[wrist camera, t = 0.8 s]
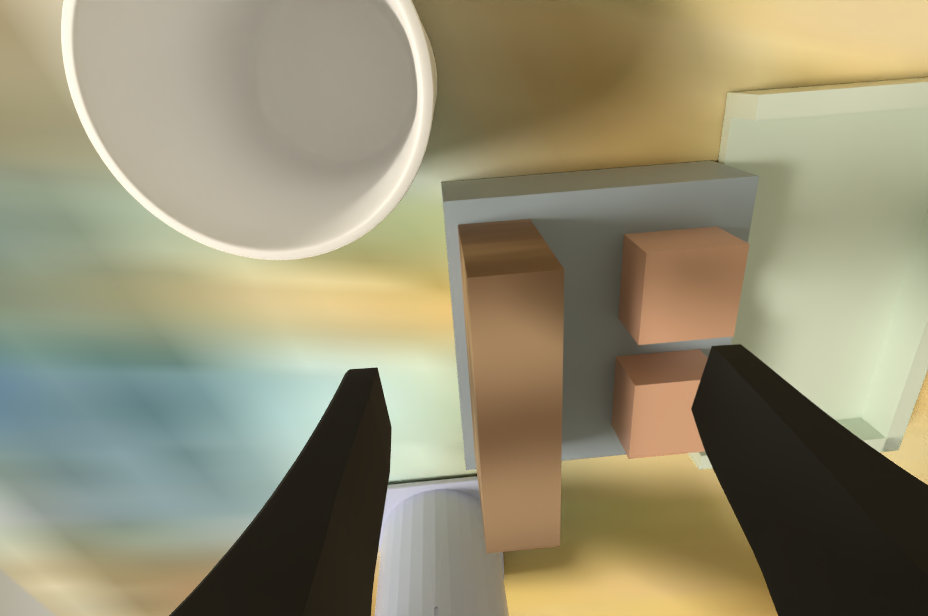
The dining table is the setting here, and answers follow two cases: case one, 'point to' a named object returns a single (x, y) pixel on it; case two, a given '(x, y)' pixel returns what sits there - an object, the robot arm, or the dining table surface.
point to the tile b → (681, 284)
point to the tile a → (657, 402)
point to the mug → (256, 113)
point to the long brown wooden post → (515, 379)
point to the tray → (837, 246)
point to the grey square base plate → (593, 267)
